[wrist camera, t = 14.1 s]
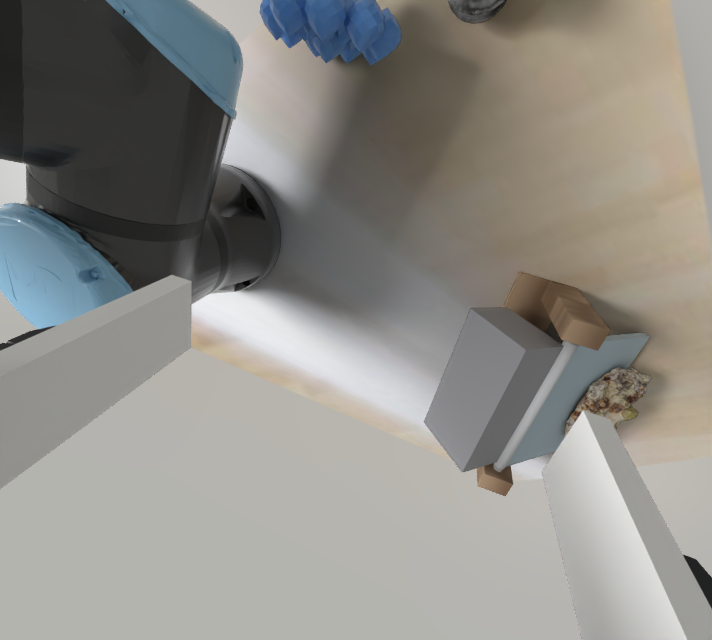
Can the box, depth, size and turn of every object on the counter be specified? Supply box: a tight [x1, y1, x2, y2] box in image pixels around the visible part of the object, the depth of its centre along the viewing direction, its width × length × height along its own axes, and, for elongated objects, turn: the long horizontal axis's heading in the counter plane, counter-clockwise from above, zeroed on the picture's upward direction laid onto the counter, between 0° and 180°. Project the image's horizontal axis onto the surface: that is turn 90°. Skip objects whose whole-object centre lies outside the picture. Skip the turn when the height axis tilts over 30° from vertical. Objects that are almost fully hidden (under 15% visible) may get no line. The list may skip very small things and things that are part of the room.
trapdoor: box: [424, 307, 650, 472], centre depth 40 cm, size 18×16×8 cm
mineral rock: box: [564, 367, 651, 437], centre depth 39 cm, size 11×4×8 cm
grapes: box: [260, 0, 401, 65], centre depth 29 cm, size 12×7×12 cm, turn 79°
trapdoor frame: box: [477, 272, 611, 496], centre depth 39 cm, size 6×21×10 cm, turn 167°
